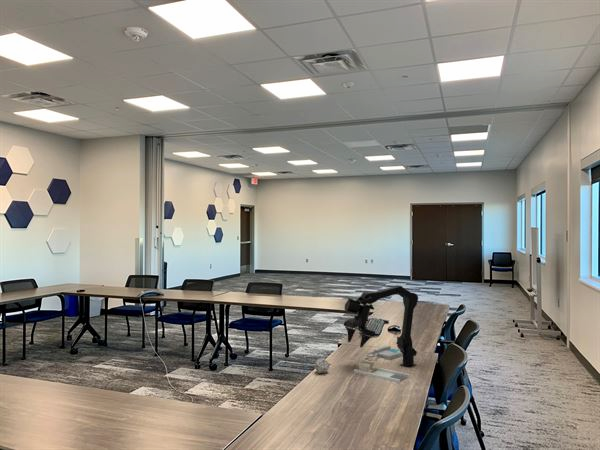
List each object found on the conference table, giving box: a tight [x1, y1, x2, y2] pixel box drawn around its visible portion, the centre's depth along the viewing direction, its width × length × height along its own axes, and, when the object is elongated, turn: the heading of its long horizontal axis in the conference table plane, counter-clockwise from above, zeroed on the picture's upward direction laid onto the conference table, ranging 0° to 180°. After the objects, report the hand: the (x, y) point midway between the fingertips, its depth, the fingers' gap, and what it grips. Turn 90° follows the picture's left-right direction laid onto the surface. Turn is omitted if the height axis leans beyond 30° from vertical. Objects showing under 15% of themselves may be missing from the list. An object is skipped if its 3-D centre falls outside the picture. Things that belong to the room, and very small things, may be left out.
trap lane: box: [353, 366, 411, 384], centre depth 218 cm, size 11×26×2 cm, turn 48°
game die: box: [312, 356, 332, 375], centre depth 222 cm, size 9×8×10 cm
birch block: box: [358, 359, 376, 373], centre depth 224 cm, size 6×6×4 cm
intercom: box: [365, 344, 403, 361], centre depth 250 cm, size 13×4×25 cm
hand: (354, 344), depth 226 cm, fingers open, 9 cm apart
